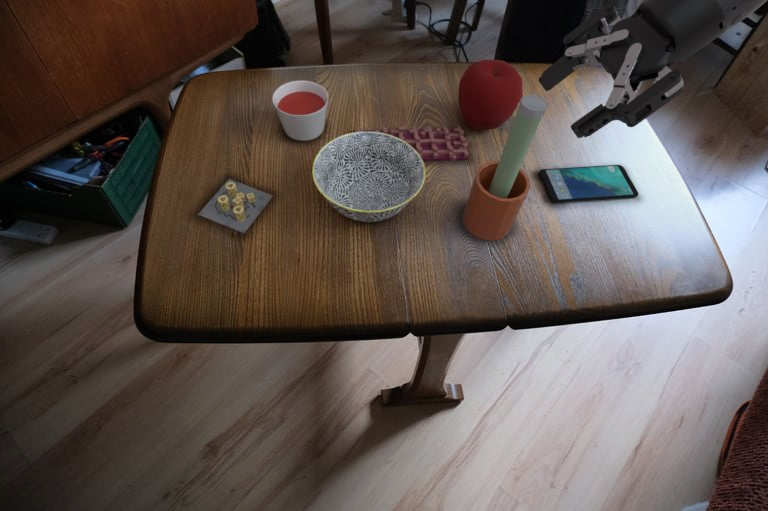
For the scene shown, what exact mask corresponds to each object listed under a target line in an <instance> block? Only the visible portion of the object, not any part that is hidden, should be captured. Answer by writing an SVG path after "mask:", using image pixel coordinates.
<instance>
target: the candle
mask: <svg viewBox="0 0 768 511" xmlns="http://www.w3.org/2000/svg"><path fill="white" fill-rule="evenodd" d="M271 99H272V104H273V106H274V109H275V111H276V114H277V116H278V118H279V121H280V123H281V126H282V128H283V130H284V132H285V134H286V135H287V136H288V137H289V138H291V139H293V140H295V141H300V142H307V141H312V140H315V139H317V138H318V137H320V136H321V135H322V134H323V132H324V130H325V126H326V119H327V113H328V105H329V93H328V91H327V90H326V88H324V86H322V85H320V84H319V83H316V82H315V81H310V80H292V81H289V82H286V83H283V84H282V85H280V86H279V87H278V88H276V90H275V91H274V92H273V94H272V98H271Z"/></svg>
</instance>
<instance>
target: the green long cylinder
mask: <svg viewBox="0 0 768 511" xmlns="http://www.w3.org/2000/svg"><path fill="white" fill-rule="evenodd" d="M547 107H548V102H547V101H546V99H545V98H544V97H543V96H540V95H537V94H530V93H529V94H525V95H523V97H522V98H521V100H520V102H519V104H518V107H517V108H518V109H517V112H516V115H515V118H514V120H513V123H512V125H511V128H510V132H509V133H508V137H507V139H506V142H505V144H504V147H503V150H502V153H501V156H500V158H499V160H498V161H499V164H498V166H497V169H496V172H495V175H494V177H493V180H492V183H491V185H490V188H489V191H488V192H489V193H490V194H491V195H494V196H496V197H499V198H508V195H509V193H510V191H511V188H512V186H513V183H514V181H515V179H516V176H517V174H518V172H519V169H521V167H522V165H523V163H524V160H525V158H526V155H527V153H528V150H529V148H530V146H531V143H532V141H533V139H534V137H535V134H536V132H537V129H538V127H539V125H540V123H541V120H542V117H543V116H544V115H545V112H546V109H547Z"/></svg>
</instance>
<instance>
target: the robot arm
mask: <svg viewBox="0 0 768 511" xmlns="http://www.w3.org/2000/svg"><path fill="white" fill-rule="evenodd" d="M767 1H768V0H642V1H641V2H640V3H639V5H638V7H637V9H636V11H635V12H634V13H633V14H631V15H629V16H628V17H625V18H621V16H619V13H618V11H617V9H616V6H615V4H614V3H608V4H605V6H604V7H602V8H601V9H600V10H598V11H596V12H595V13H594V14H593V15H592V16H590V17H588V19H586V20H585V21H583V22H582V23H581V24H580V25H578V26H577V27H575V28H574V29H573V30H572V31H571V32H569V33H567V35H565V36H564V38H563V39H562V41H563V42H562V43H563V44H564V48H565V49H564V50H565V52H564V54H563V55H562V56H561V57H560V58H559V59H558V60H556V61H554V63H552V64H551V65H549V67H547V68H546V69H545V70H543V72H542V73H541V75H540V76H539V77H538V82H539V84H540V85H541V87H542V88H543V89H544V90H545V91H546V92H548V91H551V90H552V89H553V88H555V87H556V86H557V85H558V84H560V83H561V82H562V81H564V80H565V79H567V78H568V77H569V76H570V75H572V74H573V73H574V72H575V70H574V69H578V68H584V67H588V66H589V67H590V66H592V67H594V68H597V67H602V68H603V69H604V71H605V72H606V73H608V74H609V75H610V76H611V77H612V79H613V85H612V86H613V87H612V90H611V92H610V94H609V96H608V98H607V100H606V102H605V105H603V103H600V104H599V105H597V106H596V107H594V108H593V109H592V110H590V111H589V112H587V113H586V114H584V115H583V116H582V117H580V118H579V119H577V120H576V121H575V122H573V123H572V124H571V125H570V129H571V131H572V132H573V134H574V135H575V136H576V137H577V139H582V138H583V137H584V138H588V137H591V136H592V135H593V134H595V133H597V132H598V131H600V130H601V129H602V128H604V127H605V126H607V125H608V124H609V123H610V124H611V123H612V122H613V121H619V122H621V123H623V124H625V125H626V127H628V128H635V127H636V126H637V125H639V124H640V123H642V122H643V121H645V120H646V119H647V118H648V117H650V116H651V115H653V114H654V113H656V112H657V111H658V110H660V109H661V108H662V107H664V106H665V105H667V104H668V103H669V102H671V101H672V100H674V99H675V98H677V97H678V96H679V95H680V94H682V93H683V92H684V91H685V89H686V88H685V82H684V80H683V76H682V74H681V72H680V71H679V70H676V69H673V70H672V69H671V67H672V66H673V65H674V64H676V63H681V62H684V61H685V60H687V59H689V58H690V57H691V56H693V55H694V54H695V53H697V52H698V51H700V50H701V49H703V48H704V47H706V46H707V45H709V44H710V43H711V42H713V41H714V40H716V39H717V38H719V37H720V36H721V35H723V34H725V33H726V32H727V31H729V30H730V29H732V28H733V27H734V26H736V25H738V24H739V23H740V22H742V21H743V20H745V19H746V18H748V17H749V16H751V14H753V13H754V12H756V11H757V10H758V9H759V8H761V6H763V5H764V4H765V3H766V2H767ZM652 80H653V82H652V85H650V86H649V87H648V88H646V89H645V90H644V91H642V92H641V93H640V94H638V93H639V91H640V89H641V87H642V85H643V83H644V82H647V81H648V82H649V81H652Z"/></svg>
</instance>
